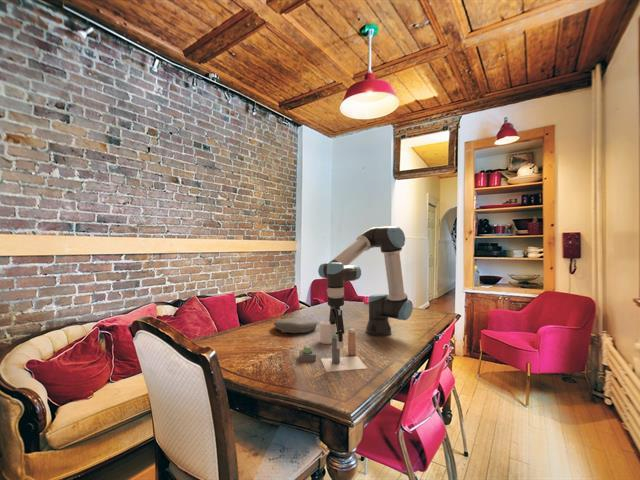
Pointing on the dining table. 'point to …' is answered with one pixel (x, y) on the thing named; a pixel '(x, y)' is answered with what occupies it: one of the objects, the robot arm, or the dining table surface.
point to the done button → (307, 350)
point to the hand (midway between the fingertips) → (336, 343)
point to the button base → (307, 356)
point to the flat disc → (296, 325)
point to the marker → (335, 351)
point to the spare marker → (351, 342)
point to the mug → (325, 332)
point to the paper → (343, 364)
